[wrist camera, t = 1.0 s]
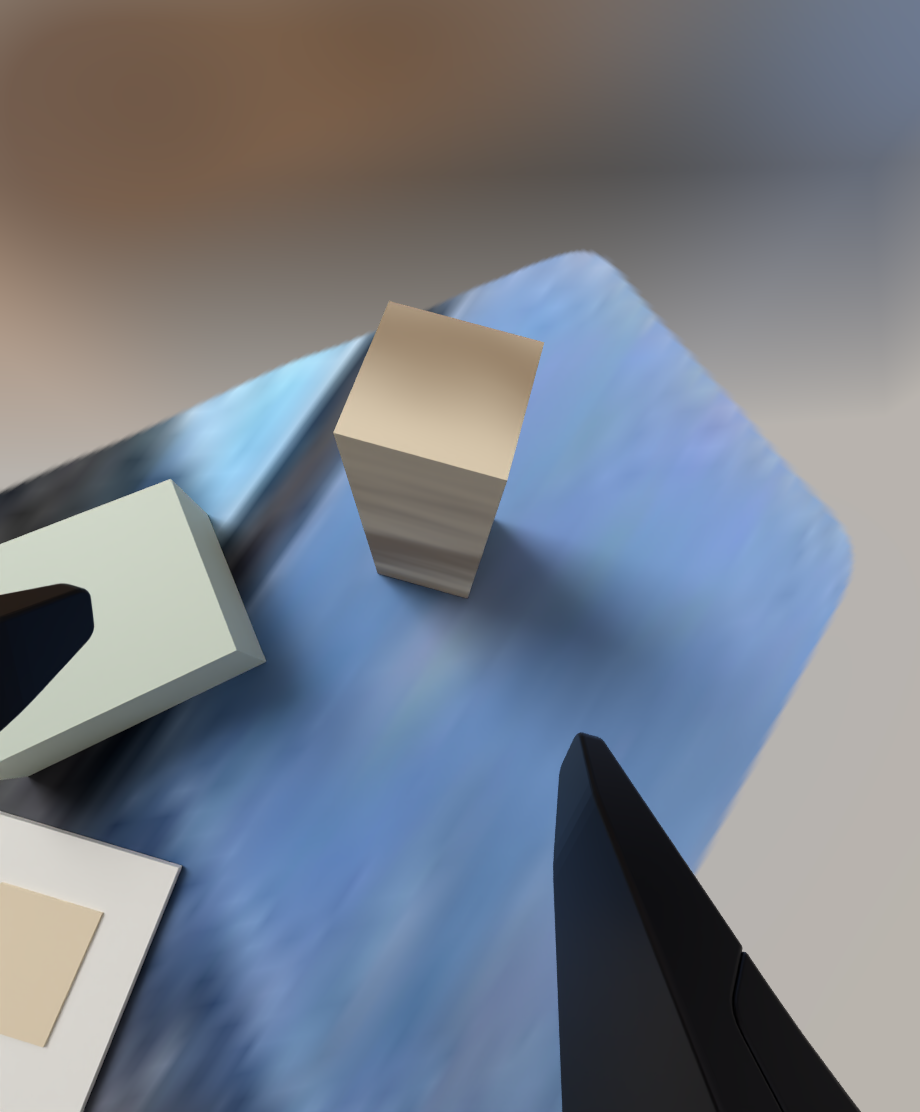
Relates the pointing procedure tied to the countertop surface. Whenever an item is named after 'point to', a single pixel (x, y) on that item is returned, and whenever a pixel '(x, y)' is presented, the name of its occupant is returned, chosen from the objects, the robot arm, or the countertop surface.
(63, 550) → the sage slab
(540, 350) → the beech pillar
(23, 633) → the robot arm
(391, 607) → the countertop surface
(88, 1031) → the card
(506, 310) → the countertop surface
